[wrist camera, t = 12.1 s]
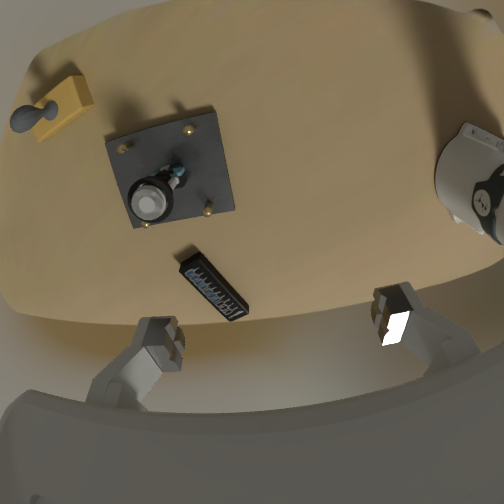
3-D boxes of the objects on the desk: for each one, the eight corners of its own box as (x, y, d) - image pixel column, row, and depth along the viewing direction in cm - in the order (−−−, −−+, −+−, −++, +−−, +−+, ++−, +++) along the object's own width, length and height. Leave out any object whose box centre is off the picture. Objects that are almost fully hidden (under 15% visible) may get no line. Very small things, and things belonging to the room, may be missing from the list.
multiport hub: (200, 249, 44) (198, 258, 42) (249, 304, 51) (250, 313, 49) (180, 262, 45) (177, 270, 43) (230, 313, 52) (229, 322, 50)
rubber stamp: (50, 137, 31) (0, 161, 21) (39, 108, 28) (-13, 125, 18) (95, 106, 30) (44, 119, 20) (83, 73, 27) (30, 77, 17)
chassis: (216, 111, 32) (213, 113, 29) (235, 207, 39) (234, 218, 36) (108, 141, 33) (96, 147, 30) (135, 225, 40) (128, 237, 37)
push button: (148, 197, 37) (122, 232, 29) (138, 163, 34) (107, 189, 26) (192, 189, 37) (176, 223, 28) (184, 153, 34) (163, 176, 25)
